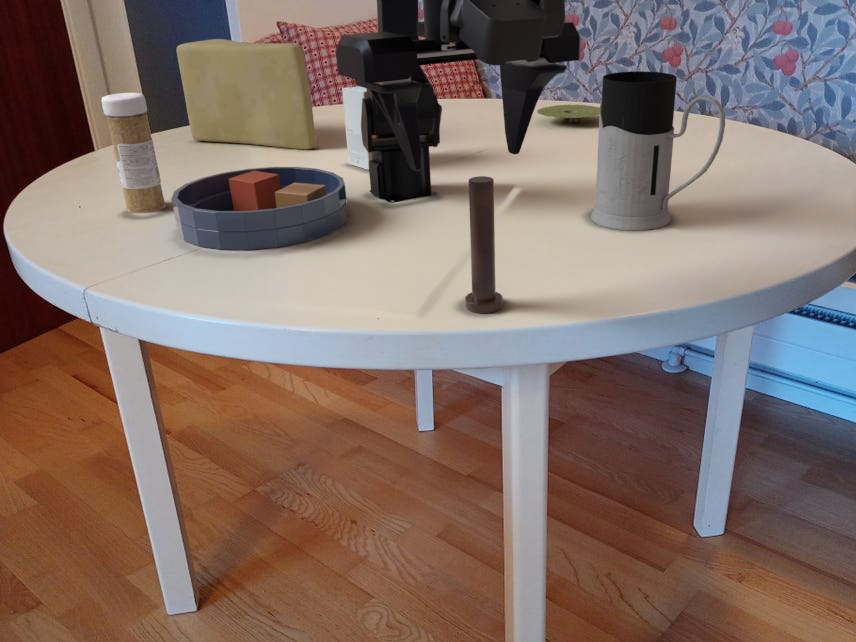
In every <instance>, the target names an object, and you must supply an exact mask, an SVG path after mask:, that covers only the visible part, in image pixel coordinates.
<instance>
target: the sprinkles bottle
mask: <svg viewBox="0 0 856 642" xmlns="http://www.w3.org/2000/svg"><path fill="white" fill-rule="evenodd" d="M101 106H102V111H103V114H104V115H105V118H106V120H107V125H108V130H109V133H110V139H111V142H112V147H113V153H114V157H115V158H114V159H115V163H116V168H117V172H118V176H119V177H118V178H119V180H120V185H121V187H122V192H123V196H124V200H125V205H126V212H127V213H131V214H149V213H153V212H157V211H160V210H163V209H164V208H166V207H167V204H166V202H165V198H164V193H163V190H162V179H161V174H160V171H159V165H158V160H157V155H156V151H155V145H154V141H153V137H152V133H151V129H150V125H149V124H150V123H149V119H148V112H147V111H148V105H147V101H146V98H145V95H144V94H143V93H140V92H119V93H113V94H108V95H104V96H102V97H101Z"/></svg>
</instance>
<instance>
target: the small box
mask: <svg viewBox="0 0 856 642" xmlns="http://www.w3.org/2000/svg"><path fill="white" fill-rule="evenodd" d="M341 92H342V94H341V95H342V105H343V115H344V116H343V117H344V126H345V138H346V147H347V148H346V150H347V158H348V159H347V160H348V164H349V165H352V166H353V167H357V168H361V169H364V170H367V171H369V161H370V160H372V153H371V152H369V153H368V152H367V150H366V149H365V147H364V145H363V141H362V133H361V114H362V99H363V98H367V88H364V87H360V86H351V87H342V88H341ZM372 138H377V137H376V135H372Z"/></svg>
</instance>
